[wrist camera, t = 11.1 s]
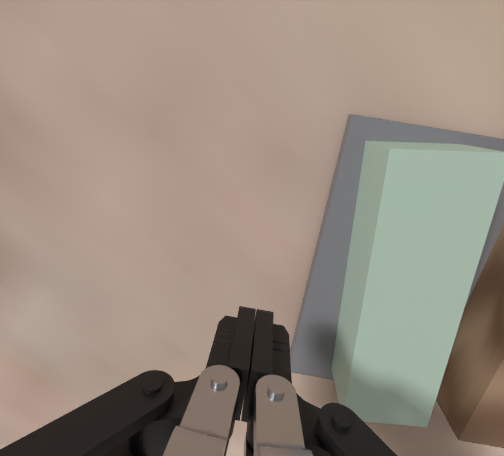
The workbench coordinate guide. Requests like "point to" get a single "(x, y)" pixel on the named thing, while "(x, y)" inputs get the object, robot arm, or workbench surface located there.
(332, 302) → the base
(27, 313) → the workbench surface
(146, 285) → the workbench surface
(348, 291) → the plank
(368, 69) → the workbench surface
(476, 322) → the walnut board
